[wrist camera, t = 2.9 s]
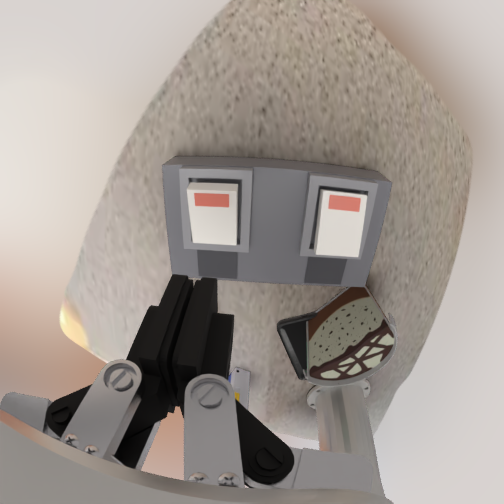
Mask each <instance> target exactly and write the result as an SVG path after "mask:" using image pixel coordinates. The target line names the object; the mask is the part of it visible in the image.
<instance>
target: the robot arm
mask: <svg viewBox="0 0 504 504" xmlns="http://www.w3.org/2000/svg"><path fill="white" fill-rule="evenodd" d="M233 329H234V315H231V314H220V313H218V306H217V278H210V277H202V279H201V280H196V282H195V285H194V286H193V280H190V279H188V276H187V275H178V274H173V275H172V277H171V279H170V281H169V283H168V286H167V288H166V290H165V292H164V295H163V297H162V299H161V302H160V304H159V306H152V305H151V306H150V307H149V308H148V310H147V312H146V315H145V317H144V319H143V321H142V324H141V326H140V328H139V330H138V333H137V335H136V337H135V340H134V342H133V344H132V347H131V349H130V351H129V354H128V356H127V359H126V360H124V359H120V360H114V361H111V362H110V363H108V364H106V365H105V366H104V368H103V369H102V370H101V372H100V373H99V375H98V376H97V378H96V379H95V381H94V383H93V384H91V385H89V386H87V387H85V388H82V389H80V390H78V391H76V392H73V393H71V394H69V395H67V396H64V397H62V398H59V399H57V400H55V401H54V402H52V401H50V400H49V399H46V398H40V397H35V396H29V395H24V394H20V393H15V392H10V393H8V394H6V395H5V396H4V397H3V399H2V401H1V403H0V504H393V502H392V501H390V500H389V499H387V498H386V497H385V494H384V490H383V487H382V483H381V479H380V474H379V468H378V463H377V457H376V451H375V445H374V440H373V435H372V429H371V424H370V420H369V415H368V410H367V405H366V401H365V398H366V397H367V396H368V395H369V393H370V390H371V387H370V383H369V381H368V380H367V379H364V380H361V381H359V382H356V383H353V384H349V385H344V386H334V387H327V386H318V385H316V386H315V387H314V388H312V389H311V390H310V391H309V393H308V394H307V403H308V405H309V406H310V407H311V408H313V409H315V410H316V415H317V426H318V437H319V447H320V448H319V449H320V450H313V449H308V448H303V449H297V448H292V447H288V446H287V445H286V444H285V443H284V442H283V441H282V440H281V439H279V438H278V437H277V436H276V435H275V434H274V433H272V432H271V431H270V430H269V429H268V428H267V427H266V426H264V425H263V424H262V423H261V422H260V421H259V420H258V419H257V418H256V417H254V416H253V415H252V414H251V413H250V412H249V411H248V410H247V409H246V408H245V407H244V406H243V405H242V404H241V403H240V402H239V401H238V400H236V399H235V393H234V389H233V386H232V385H231V384H230V382H229V381H228V378H229V370H230V361H231V352H232V343H233ZM175 406H178V407H179V406H180V409H181V412H182V415H183V418H184V480H178V479H173V478H168V477H164V476H159V475H155V474H150V473H147V472H143V471H141V468H142V466H143V464H144V461H145V459H146V456H147V454H148V452H149V449H150V447H151V445H152V442H153V440H154V438H155V435H156V433H157V431H158V428H159V426H160V422H161V420H162V419H164V418H166V417H167V413H168V412H171V413H174V410H175ZM244 484H245V485H246V486H248V487H249V488H245V486H244Z"/></svg>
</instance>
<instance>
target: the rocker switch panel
mask: <svg viewBox="0 0 504 504" xmlns="http://www.w3.org/2000/svg"><path fill="white" fill-rule="evenodd" d="M162 170H163V187H164V201H165V213H166V224H167V234H168V244H169V252H170V261H171V269H172V275H173V274H178V275H187V276H188V277H191V278H202V277H210V278H217V280H231V281H246V282H262V283H279V284H299V285H320V286H345V287H365V284H366V281H367V278H368V274H369V271H370V268H371V265H372V261H373V258H374V255H375V251H376V248H377V244H378V240H379V237H380V233H381V229H382V225H383V221H384V217H385V213H386V209H387V205H388V200H389V196H390V191H391V186H392V182H391V181H390V180H388V179H387V178H386V177H384V176H383V175H382V174H380V173H379V172H378V171H372V170H366V169H360V168H353V167H346V166H338V165H330V164H322V163H313V162H303V161H292V160H280V159H266V158H249V157H223V156H175V157H173V158H172V159H170V160H169V161H167V162H166V163H165V164H163V165H162ZM190 182H193V183H227V184H238V238H237V245H221V244H204V243H193V239H192V231H191V223H190V215H189V206H188V197H187V188H188V186H189V184H190ZM320 189H326V190H335V191H344V192H352V193H360V194H365V195H367V202H366V210H365V218H364V225H363V231H362V238H361V244H360V250H359V256H358V257H346V256H330V255H316V254H315V252H314V243H315V234H316V226H317V217H318V207H319V197H320Z"/></svg>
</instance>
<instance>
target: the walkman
mask: <svg viewBox="0 0 504 504" xmlns="http://www.w3.org/2000/svg"><path fill="white" fill-rule="evenodd" d="M228 381H229V382H230V384H231V385H232V386H233V389H234V393H235V399H236V400H238V401H239V402H240V403H241V404H242V405H243V406H244V407H245V408H246V409H247V410H248V402H249V385H250V372H249V371H246V370H243V369H241V368H238V367H236V368H235V369H234V370H233V372H232V373H231V374H230V376H229V378H228Z"/></svg>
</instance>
